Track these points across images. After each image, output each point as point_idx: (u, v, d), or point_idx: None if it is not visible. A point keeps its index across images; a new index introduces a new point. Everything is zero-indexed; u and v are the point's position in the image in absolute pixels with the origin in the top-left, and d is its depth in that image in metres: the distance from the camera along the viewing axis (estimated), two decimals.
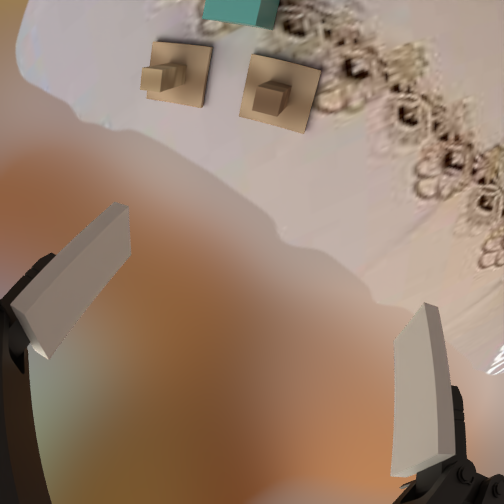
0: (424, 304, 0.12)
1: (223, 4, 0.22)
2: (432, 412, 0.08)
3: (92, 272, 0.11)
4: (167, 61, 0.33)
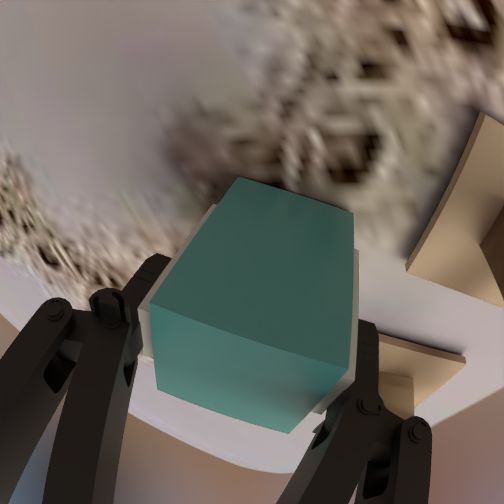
0: None
1: (254, 404, 0.09)
2: None
3: None
4: None
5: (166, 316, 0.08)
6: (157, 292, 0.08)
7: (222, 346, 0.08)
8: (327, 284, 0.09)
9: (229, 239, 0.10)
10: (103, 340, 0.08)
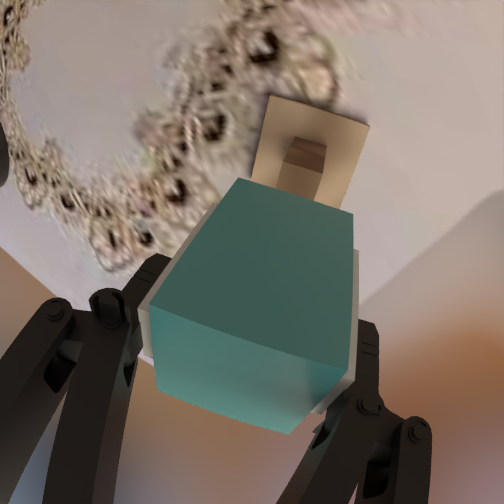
0: None
1: (254, 405, 0.09)
2: None
3: None
4: None
5: (166, 318, 0.08)
6: (157, 294, 0.08)
7: (222, 348, 0.08)
8: (326, 285, 0.09)
9: (229, 240, 0.10)
10: (103, 340, 0.08)
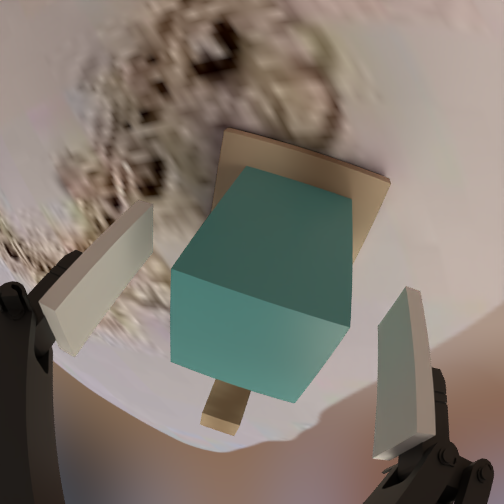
0: (406, 288, 0.12)
1: (263, 370, 0.11)
2: (411, 392, 0.09)
3: (118, 269, 0.12)
4: None
5: (186, 281, 0.09)
6: (178, 260, 0.09)
7: (236, 308, 0.09)
8: (329, 257, 0.11)
9: (240, 218, 0.11)
10: (12, 331, 0.07)
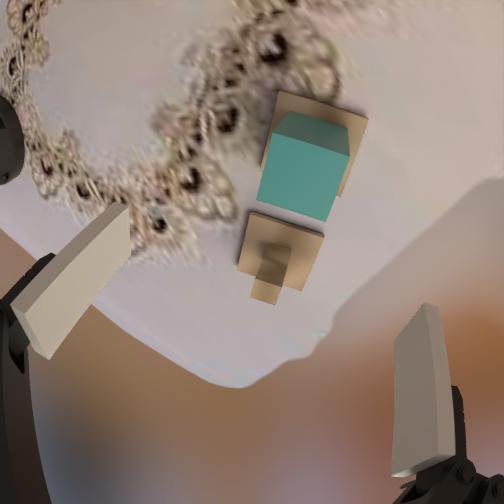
0: (424, 304, 0.12)
1: (310, 192, 0.21)
2: (432, 412, 0.08)
3: (92, 272, 0.11)
4: (262, 261, 0.36)
5: (278, 138, 0.20)
6: (274, 131, 0.20)
7: (300, 151, 0.20)
8: (338, 141, 0.21)
9: (295, 125, 0.22)
10: None
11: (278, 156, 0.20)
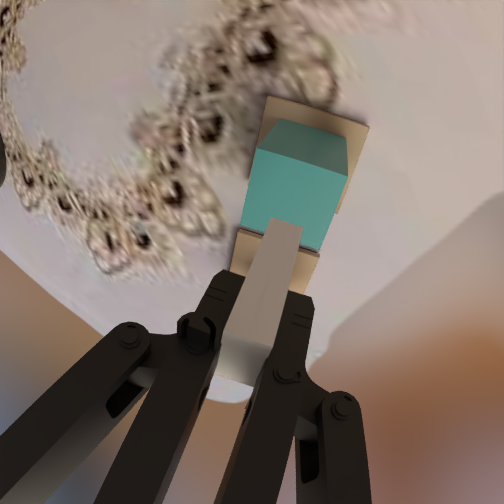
0: (287, 223, 0.14)
1: (301, 217, 0.19)
2: None
3: None
4: None
5: (264, 155, 0.17)
6: (259, 146, 0.17)
7: (289, 169, 0.17)
8: (334, 155, 0.19)
9: (285, 136, 0.19)
10: (185, 365, 0.08)
11: (264, 175, 0.18)
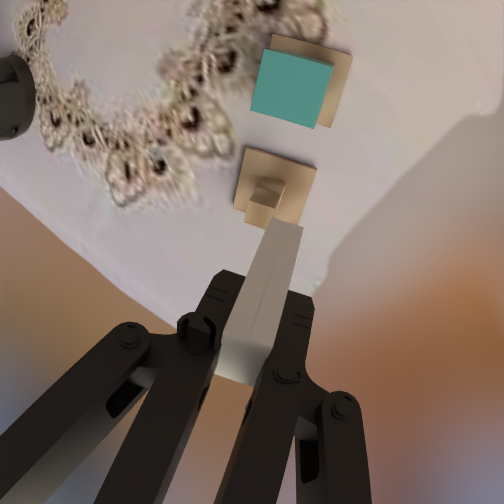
0: (287, 223, 0.14)
1: (298, 101, 0.22)
2: None
3: None
4: None
5: (269, 54, 0.20)
6: (266, 49, 0.21)
7: (288, 63, 0.20)
8: (323, 63, 0.22)
9: (285, 52, 0.23)
10: (185, 365, 0.08)
11: (269, 69, 0.21)
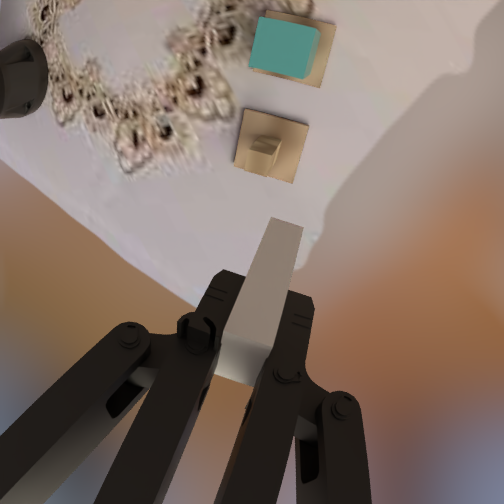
0: (287, 223, 0.14)
1: (289, 56, 0.25)
2: None
3: None
4: None
5: (263, 20, 0.23)
6: None
7: (280, 27, 0.23)
8: None
9: None
10: (185, 365, 0.08)
11: (264, 32, 0.24)
